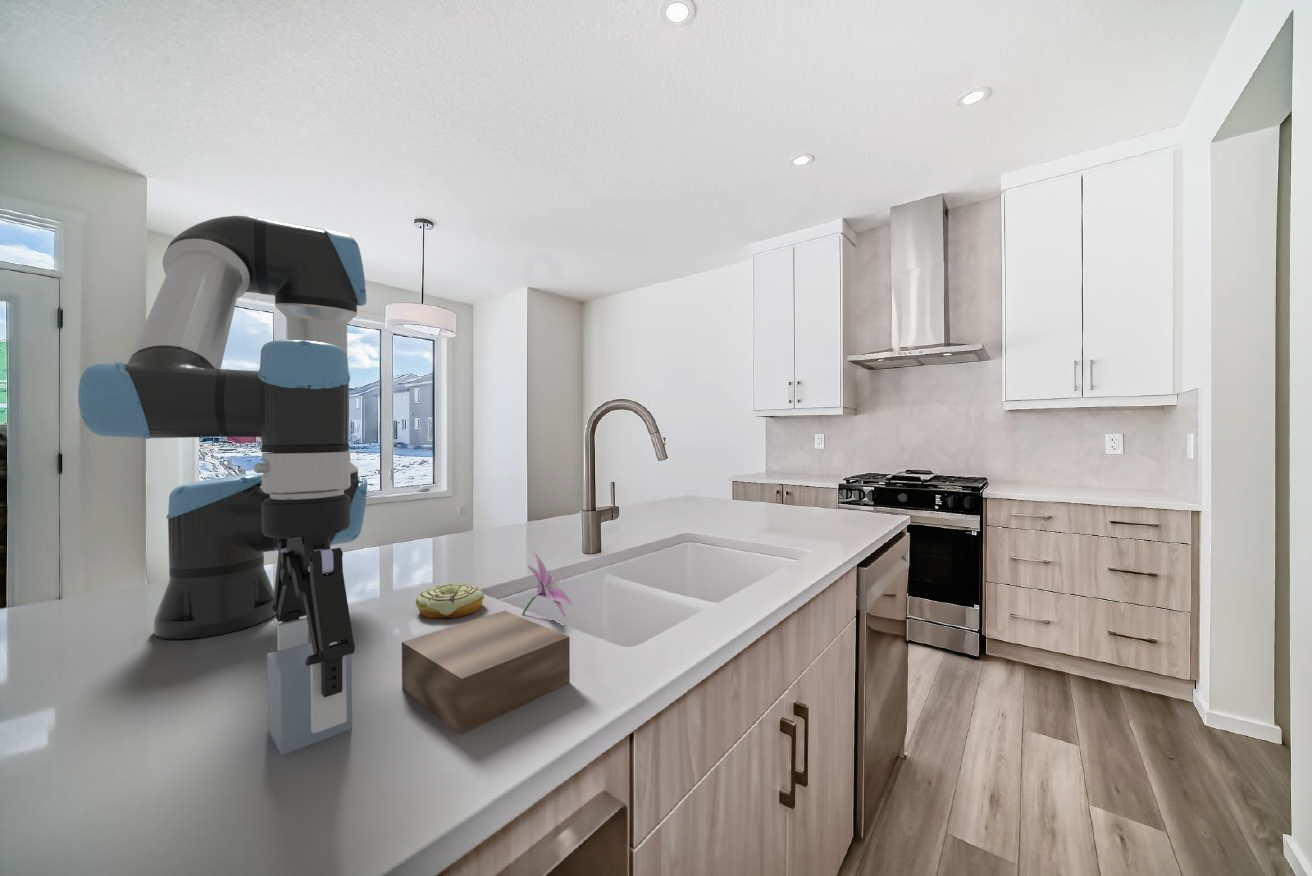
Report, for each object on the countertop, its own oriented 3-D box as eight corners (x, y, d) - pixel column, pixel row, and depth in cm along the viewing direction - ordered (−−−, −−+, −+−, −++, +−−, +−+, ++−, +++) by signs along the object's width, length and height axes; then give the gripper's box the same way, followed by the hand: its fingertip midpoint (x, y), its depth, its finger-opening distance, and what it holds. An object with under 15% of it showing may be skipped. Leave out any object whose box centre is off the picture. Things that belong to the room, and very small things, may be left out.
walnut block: (402, 691, 61) (401, 641, 61) (504, 653, 72) (504, 610, 72) (462, 737, 52) (461, 678, 52) (569, 685, 63) (569, 636, 63)
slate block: (268, 730, 53) (267, 653, 53) (334, 707, 57) (333, 636, 57) (281, 756, 49) (280, 672, 49) (352, 729, 53) (351, 652, 53)
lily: (537, 640, 78) (569, 583, 79) (483, 600, 82) (514, 546, 84) (572, 636, 89) (599, 585, 90) (522, 601, 93) (549, 553, 95)
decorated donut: (450, 626, 81) (449, 602, 81) (402, 616, 86) (401, 594, 86) (495, 605, 91) (495, 584, 91) (450, 597, 95) (450, 577, 95)
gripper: (239, 489, 58) (241, 675, 58) (293, 509, 41) (296, 772, 41) (316, 484, 64) (318, 654, 64) (392, 500, 47) (394, 732, 47)
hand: (309, 701), depth 53 cm, fingers open, 13 cm apart
